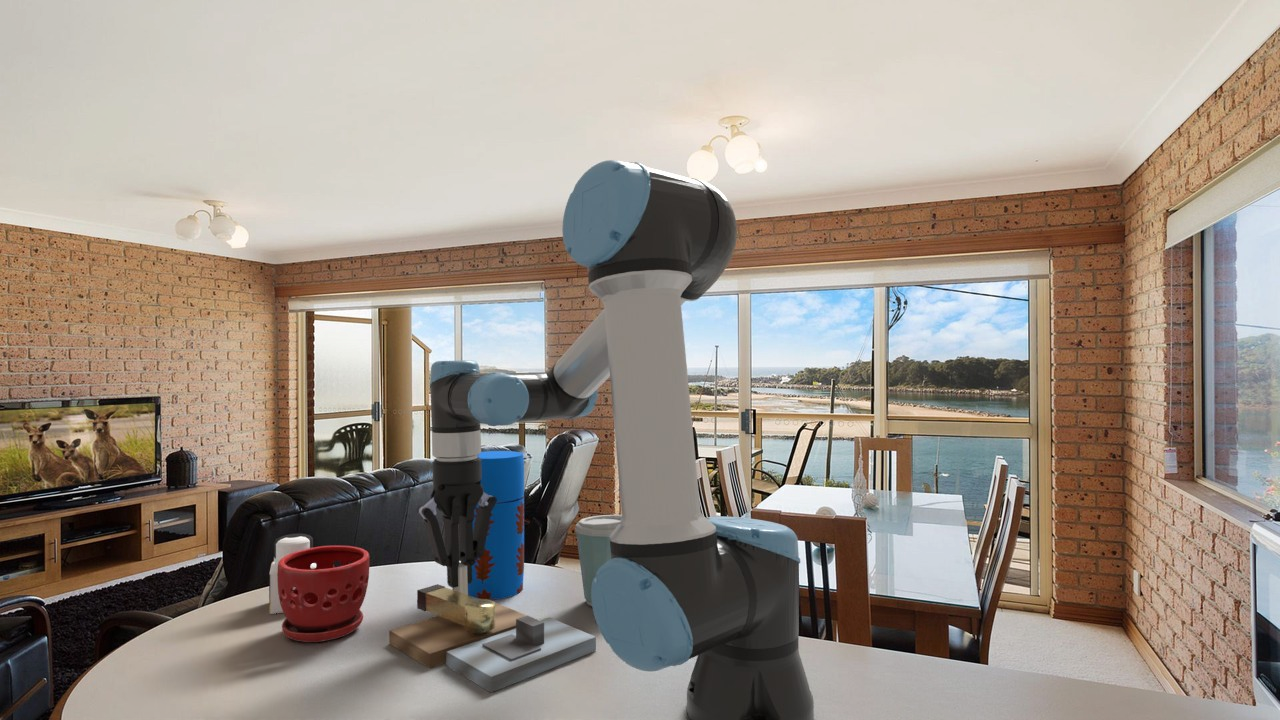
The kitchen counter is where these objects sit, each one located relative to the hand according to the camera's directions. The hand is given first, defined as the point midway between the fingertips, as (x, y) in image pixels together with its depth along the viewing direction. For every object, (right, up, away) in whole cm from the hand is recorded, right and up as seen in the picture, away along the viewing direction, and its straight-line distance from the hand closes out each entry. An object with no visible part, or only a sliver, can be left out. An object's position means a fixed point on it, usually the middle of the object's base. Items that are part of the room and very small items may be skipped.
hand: (460, 605), depth 111 cm
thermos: (+2, -4, +18) cm, 19 cm away
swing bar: (+1, -1, -4) cm, 4 cm away
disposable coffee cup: (+22, -4, +12) cm, 26 cm away
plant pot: (-21, -4, -2) cm, 21 cm away
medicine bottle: (-32, -4, +10) cm, 33 cm away
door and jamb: (+7, -4, -7) cm, 11 cm away
